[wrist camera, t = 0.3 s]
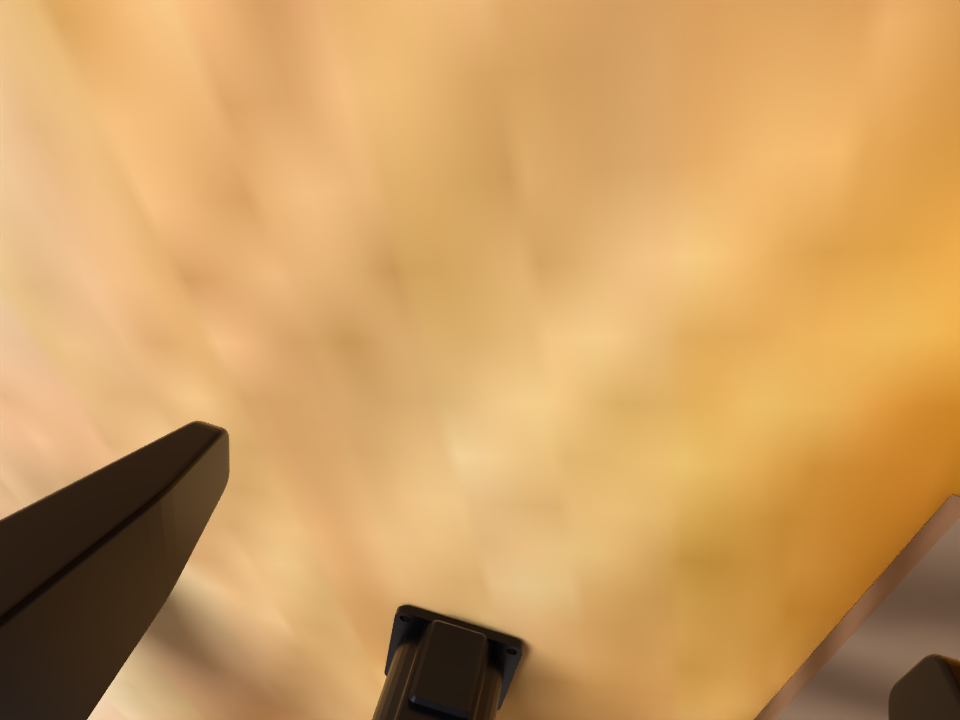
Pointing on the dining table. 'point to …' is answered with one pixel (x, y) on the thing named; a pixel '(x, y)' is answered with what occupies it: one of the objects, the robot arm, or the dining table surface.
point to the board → (884, 632)
